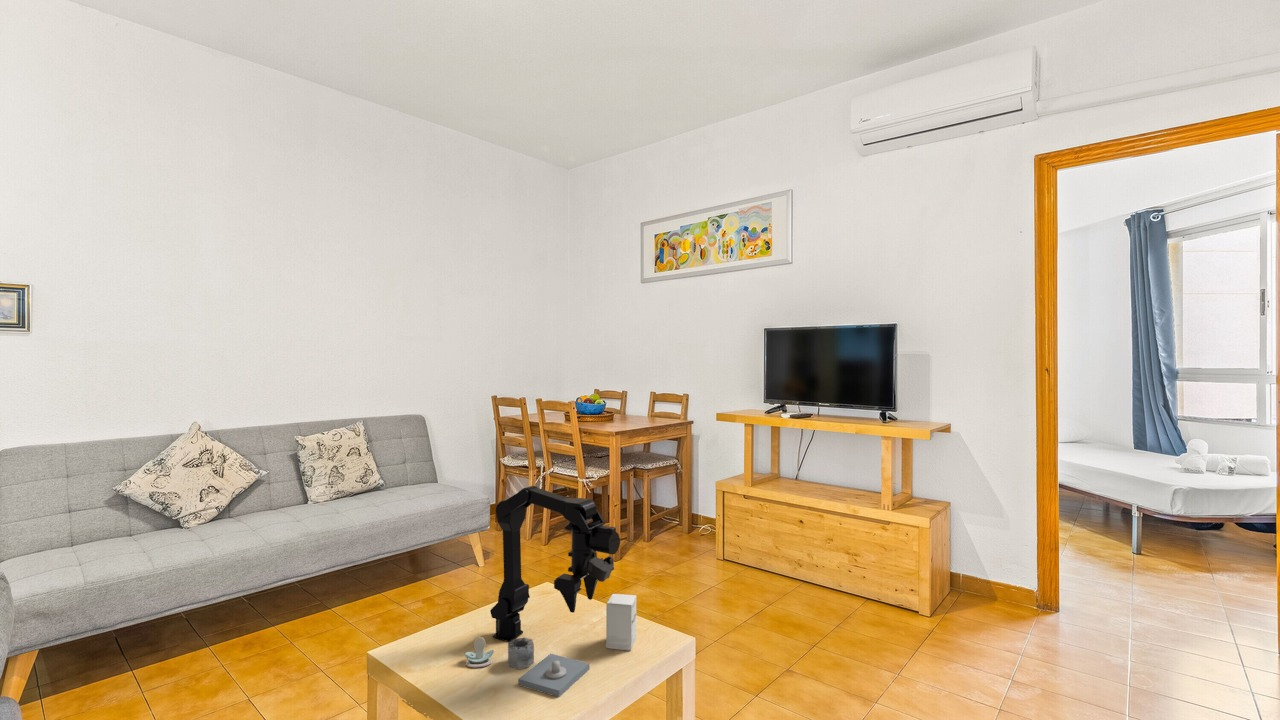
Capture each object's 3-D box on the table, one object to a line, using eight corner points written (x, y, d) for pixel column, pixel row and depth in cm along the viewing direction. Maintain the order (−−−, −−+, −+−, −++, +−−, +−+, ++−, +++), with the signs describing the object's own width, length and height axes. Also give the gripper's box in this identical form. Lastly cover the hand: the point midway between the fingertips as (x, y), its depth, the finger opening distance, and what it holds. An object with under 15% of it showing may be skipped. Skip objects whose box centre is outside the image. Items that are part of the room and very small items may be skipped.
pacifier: (492, 668, 154) (494, 656, 160) (492, 644, 154) (494, 633, 160) (463, 670, 153) (466, 658, 159) (463, 646, 153) (466, 635, 159)
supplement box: (631, 651, 163) (631, 605, 163) (605, 648, 164) (605, 602, 164) (637, 638, 170) (637, 594, 170) (612, 636, 171) (612, 592, 171)
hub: (503, 665, 155) (503, 646, 155) (518, 654, 161) (518, 636, 161) (523, 671, 152) (523, 651, 152) (538, 659, 158) (538, 641, 158)
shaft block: (518, 684, 146) (518, 667, 146) (550, 659, 158) (550, 643, 158) (559, 696, 140) (559, 678, 140) (589, 669, 153) (589, 652, 153)
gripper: (590, 563, 147) (590, 625, 147) (624, 542, 164) (623, 598, 164) (553, 556, 152) (552, 616, 152) (589, 536, 169) (588, 591, 169)
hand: (581, 605), depth 159 cm, fingers open, 9 cm apart
